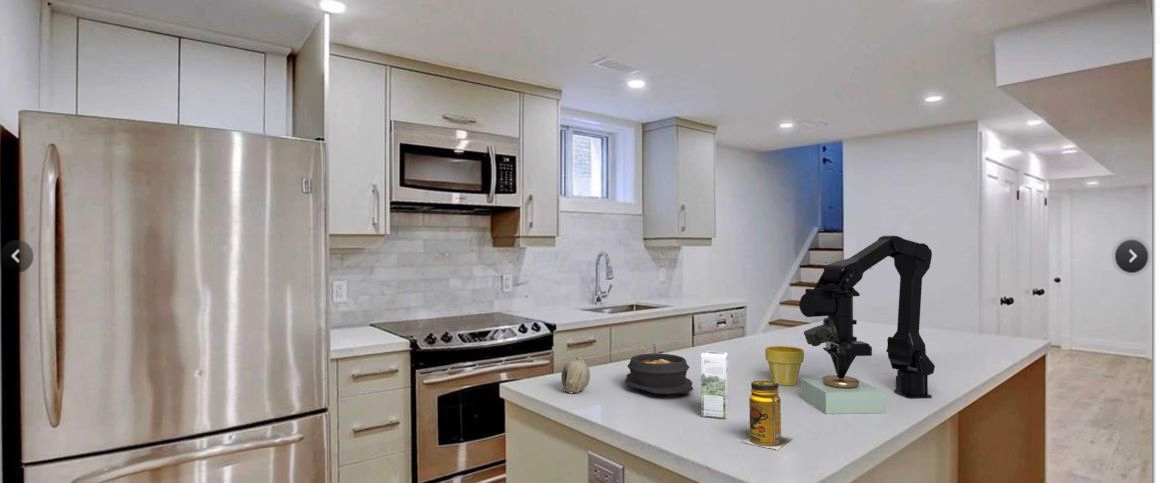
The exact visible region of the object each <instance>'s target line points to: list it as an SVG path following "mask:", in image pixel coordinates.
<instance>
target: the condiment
mask: <svg viewBox="0 0 1160 483" xmlns="http://www.w3.org/2000/svg"><path fill="white" fill-rule="evenodd" d="M750 388H751V389H750V395H749V403H748V404H749V407H748V408H749V437H748V438H746V439H745V440H743V441H742V443H746V444H750V445H753V446H757V447H762V448H766V449H767V448H768V449H772V450H777V451H778V450H779V449H781V448H782V447H784V446H785V445H786V444H787V443H789V442H790V441H791V440H792V439H793V437H789V436H784V435H782V417H781V415H782V413H781V410H782V409H781V402H782V401H781V397H780V395H779V393H780V392H779V385H778V384H777V383H775V382H772V380H771V381H770V380H763V379H762V380H754V381H752V382H751V386H750Z"/></svg>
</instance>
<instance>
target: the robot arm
mask: <svg viewBox="0 0 1160 483" xmlns="http://www.w3.org/2000/svg"><path fill="white" fill-rule="evenodd" d="M887 257H890V258H891V259H893V265H894V267H895V269H896V271H897V273H898V275H899V277H900V278H899V294H898V295H899V296H898V309H897V310H898V311H897V326H896V332H895V333H894V335H893V336H888V337H887V340H886V341H887V345H886V346H887V348H886V353H887V357H888V360H889V361H890V366H891V369H893V370H897V371H896V372H897V373H896V374H897V375H896V376H895V389H894V390H893V392H894V393H896V394H899V395H901V396H902V397H906V398H908V399H914V398H915V399H916V398H917V399H919V398H921V399H922V398H925V399H926V398H932V396H933V395H932V394H929V392H928V389H929V387H928V386H929V384H928V383H929V382H928V381H929V380H928V376H931V375H933V374H934V372H935V364H934V363H933V361H932V360H931V359H930V357H929V356H928V355H927V350H926V343H925V342H924V340H923V338H922V336H921V334H920V322H921V304H922V289H923V287H922V286H923V278H924V277H925V275H926V273H927V272H928V271H929V270H930V268H931V262H932V258H933V253H932V249H931V248H929V246H928V245H927V244H926V243H922V242H917V241H912V240H910V239H909V240H908V239H905V238H902V237H901V236H898V235H882V236H879V238H878V239H877V240H876V241H874V242H873V243H871V244H869V245H868V246H866V247H865V248H863V249H862V250H860V251H858V252H857V253H855V254H854V255H852V256H850V257H849V258H845V259H841V260H837V261H834V262H832V263H829V264H827V265H826V266H824V267H823V272H822V274H821V276H820V278H819V279H818V280H817V282H816V284H815V286H814V288H805V293H804V294H803V295H802V296H801V298H800V301H799V302H798V306H799V310H800V312H801V314H802V315H803V316H804V317H807V318H816V317H819V318H820V317H824V319H823V323H822V324H820V325H817V326H814V327H811V328H809V329H806V330H804V331H803V335H804V337H805V340H806V342H807V345H811V346H812V347H819V346H820V345H822V344H824V343H825V347H822V349H823V350H824V351H825V352H826V353H827V354H828V355H830V357H831V361H832V363H833V366H834V370H835V373H836V375H837V377H838V378H839V379H843V378H844V377H845V376H847V373H848V372H849V369H850V368H851V365H852V363H853V362H854V360H855V359H856V357H871V356H873V347H872V346H871V345H870V344H869V343H867V342H864V341H861V340H857V338H858V337H857V336H854V325H858V323H857V322H858V321H857V319H854V298H853V297H860V296H861V295H860V292H858V290H856V289H855V288H854V287H855V286H856V285H857V284H858V283H860V281H861V280H862V279H863V276H864V273H865V272H866V271H868V270H870V269H871V268H872V267H874V266H876V265H877V264H878V263H880V262H881V261H883V260H884V259H886V258H887Z"/></svg>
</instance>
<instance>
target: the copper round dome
mask: <svg viewBox="0 0 1160 483" xmlns="http://www.w3.org/2000/svg"><path fill="white" fill-rule="evenodd" d="M822 378H823V383H824V384H826V385H828V386H833V387H839V388H855V387H858V386H859V380H860V379H858V378H856V377H854V376H853V377H852V376H847V375H845V377H844V378H843V379H839V378H838V377H837V374H835V375H834V374H831V375H824V376H823V377H822Z"/></svg>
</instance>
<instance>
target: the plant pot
mask: <svg viewBox="0 0 1160 483" xmlns="http://www.w3.org/2000/svg"><path fill="white" fill-rule="evenodd" d="M804 350H805V349H803V348H800V347H795V346H788V345H787V346H786V345H770V346H766V347H765V360H766V361H767V364H768V368H769V373H770V378H771V381H772V382H775V383H777V384H778V386H779V385H780V386H795V385H797V384H798V378H799V375H800V369H801V365H802V363H804V359H805V351H804Z"/></svg>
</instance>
